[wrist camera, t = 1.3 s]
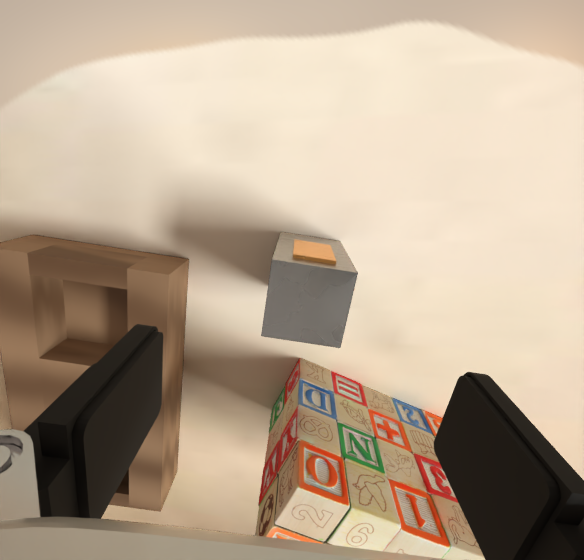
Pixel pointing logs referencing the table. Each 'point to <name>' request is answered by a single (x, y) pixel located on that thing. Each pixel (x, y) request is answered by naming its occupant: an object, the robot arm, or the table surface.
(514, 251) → the table surface
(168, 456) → the wooden socket board
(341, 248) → the loose billet
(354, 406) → the stack of blocks
